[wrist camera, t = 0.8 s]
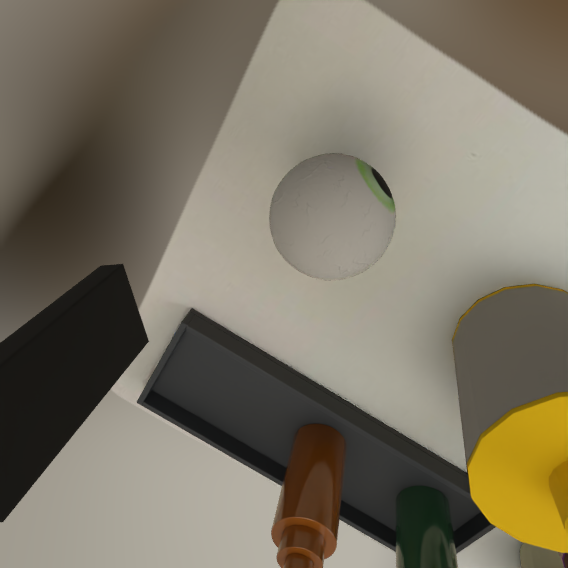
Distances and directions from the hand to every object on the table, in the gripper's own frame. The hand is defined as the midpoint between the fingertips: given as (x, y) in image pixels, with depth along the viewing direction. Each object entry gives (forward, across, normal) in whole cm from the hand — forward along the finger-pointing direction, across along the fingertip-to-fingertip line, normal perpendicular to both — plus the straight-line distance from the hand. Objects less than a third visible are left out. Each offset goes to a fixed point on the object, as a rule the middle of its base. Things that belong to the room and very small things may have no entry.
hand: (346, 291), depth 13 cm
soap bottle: (+26, +11, -19) cm, 34 cm away
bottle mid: (+25, -8, -30) cm, 40 cm away
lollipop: (+26, -2, -2) cm, 26 cm away
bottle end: (+25, +2, -39) cm, 46 cm away
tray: (+26, -8, -30) cm, 41 cm away
